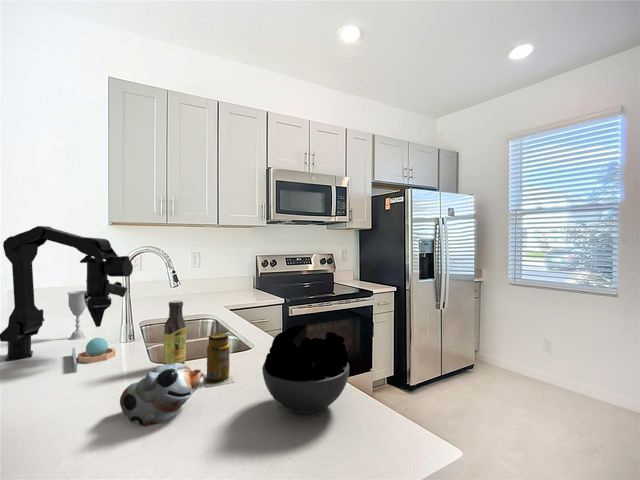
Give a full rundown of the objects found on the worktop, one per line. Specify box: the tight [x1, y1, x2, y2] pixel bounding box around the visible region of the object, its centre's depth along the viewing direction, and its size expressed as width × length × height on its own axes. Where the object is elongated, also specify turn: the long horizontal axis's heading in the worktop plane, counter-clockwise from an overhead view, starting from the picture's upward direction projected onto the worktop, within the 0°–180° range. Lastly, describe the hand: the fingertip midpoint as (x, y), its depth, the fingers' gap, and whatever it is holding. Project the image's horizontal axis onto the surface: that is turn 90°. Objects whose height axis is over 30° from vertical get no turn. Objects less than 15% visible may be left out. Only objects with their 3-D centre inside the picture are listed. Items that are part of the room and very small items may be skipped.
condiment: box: [203, 332, 235, 387], centre depth 92 cm, size 7×8×12 cm
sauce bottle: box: [162, 300, 187, 365], centre depth 101 cm, size 7×6×20 cm
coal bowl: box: [262, 324, 350, 414], centre depth 76 cm, size 20×20×19 cm
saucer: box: [77, 347, 116, 364], centre depth 109 cm, size 10×10×2 cm
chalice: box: [66, 290, 87, 340], centre depth 130 cm, size 7×7×18 cm
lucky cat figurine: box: [119, 363, 205, 427], centre depth 74 cm, size 15×12×14 cm
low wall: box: [71, 347, 78, 373], centre depth 103 cm, size 18×1×2 cm, turn 38°
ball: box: [85, 337, 109, 357], centre depth 109 cm, size 6×6×6 cm
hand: (96, 323), depth 109 cm, fingers open, 9 cm apart
